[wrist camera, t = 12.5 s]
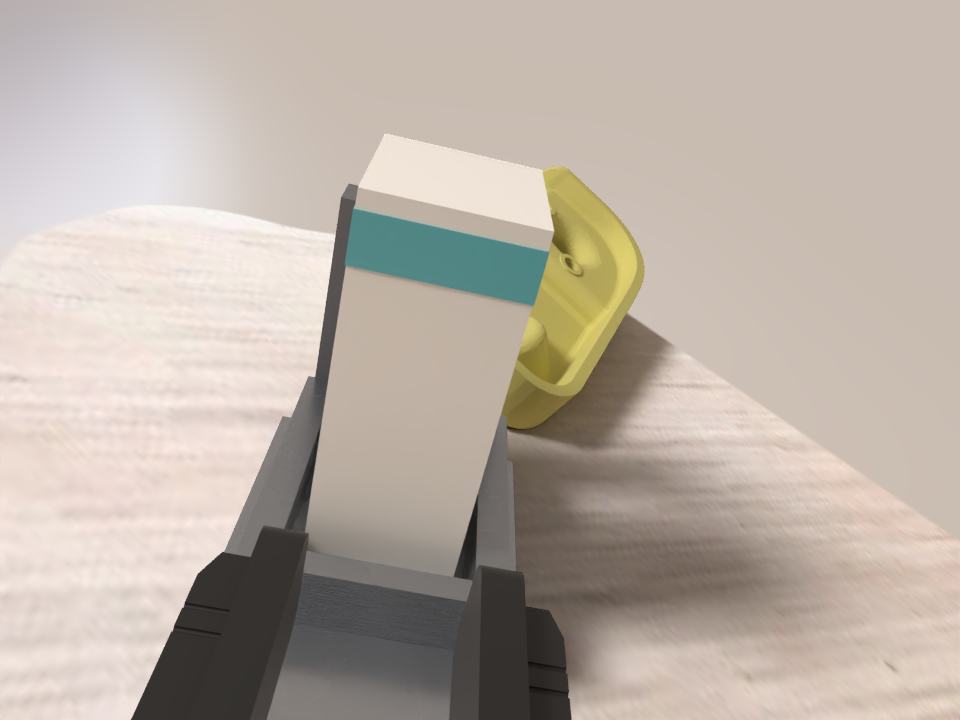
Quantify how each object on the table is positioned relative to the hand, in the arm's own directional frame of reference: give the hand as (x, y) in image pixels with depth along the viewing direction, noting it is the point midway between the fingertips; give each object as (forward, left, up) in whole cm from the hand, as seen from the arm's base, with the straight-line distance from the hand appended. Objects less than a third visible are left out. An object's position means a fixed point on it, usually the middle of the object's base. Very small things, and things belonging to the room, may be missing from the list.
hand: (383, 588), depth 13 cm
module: (+7, -7, -8) cm, 13 cm away
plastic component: (+17, -24, -10) cm, 31 cm away
